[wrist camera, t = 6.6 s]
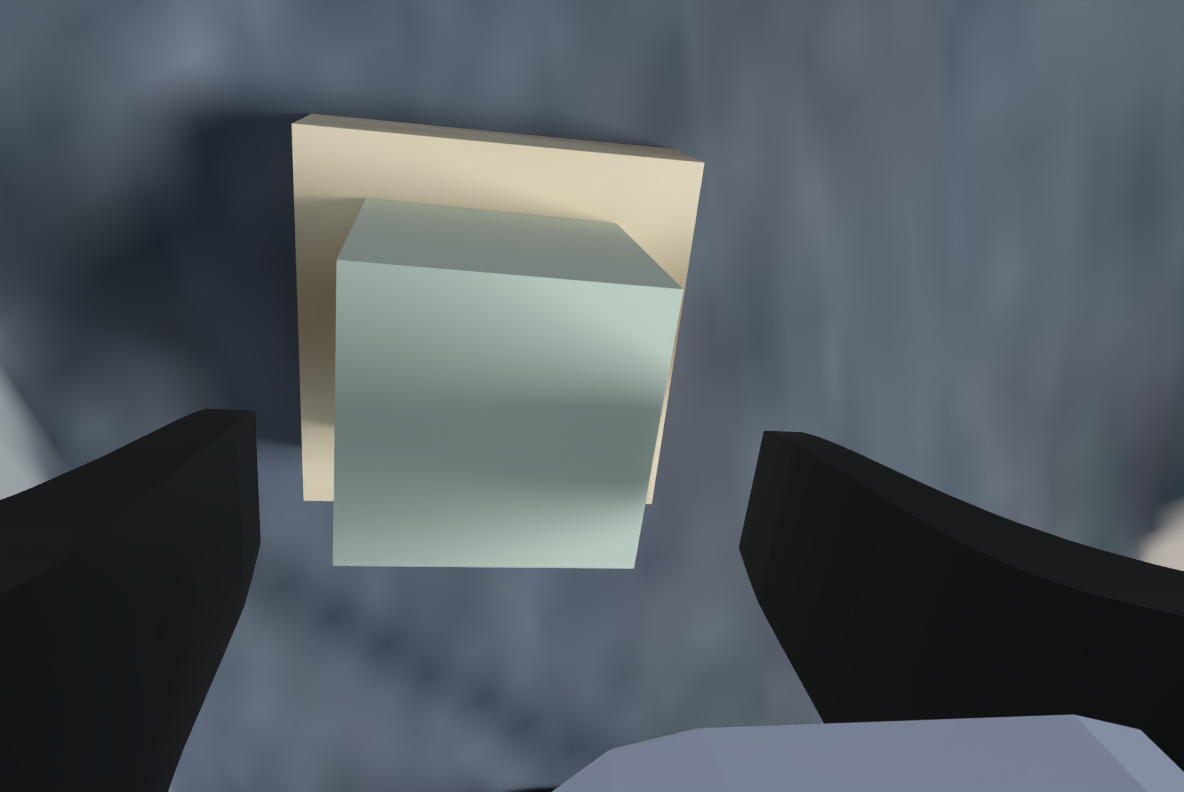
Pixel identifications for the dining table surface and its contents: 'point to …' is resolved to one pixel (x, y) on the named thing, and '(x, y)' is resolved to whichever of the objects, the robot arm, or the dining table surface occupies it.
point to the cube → (495, 388)
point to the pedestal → (465, 180)
